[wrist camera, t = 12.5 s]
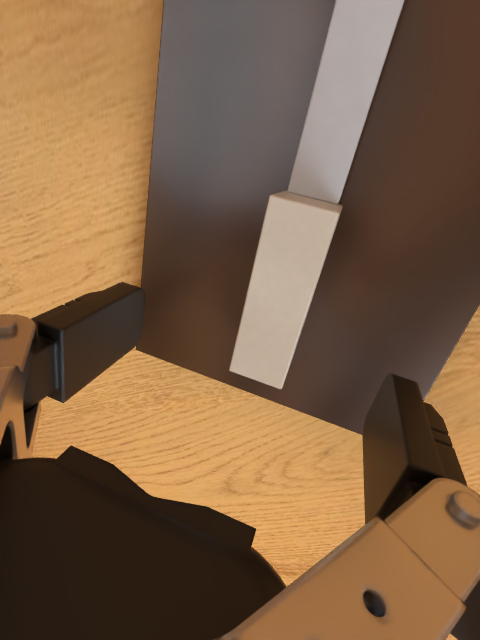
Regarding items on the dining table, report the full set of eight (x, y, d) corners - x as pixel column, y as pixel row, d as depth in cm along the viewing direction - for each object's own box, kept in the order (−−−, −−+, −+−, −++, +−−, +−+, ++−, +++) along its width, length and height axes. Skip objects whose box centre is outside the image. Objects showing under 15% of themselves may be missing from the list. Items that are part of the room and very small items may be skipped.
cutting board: (148, 339, 23) (135, 349, 21) (206, -249, 12) (187, -300, 10) (393, 429, 20) (396, 448, 18) (770, -243, 9) (842, -315, 8)
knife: (292, 358, 18) (281, 390, 16) (246, 342, 19) (228, 370, 16) (457, -142, 10) (492, -253, 7) (369, -148, 11) (373, -253, 8)
